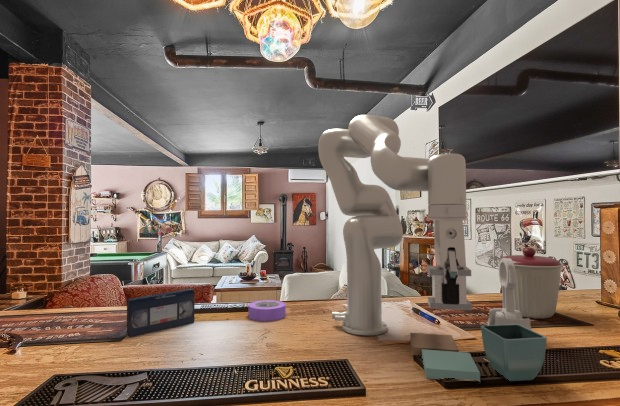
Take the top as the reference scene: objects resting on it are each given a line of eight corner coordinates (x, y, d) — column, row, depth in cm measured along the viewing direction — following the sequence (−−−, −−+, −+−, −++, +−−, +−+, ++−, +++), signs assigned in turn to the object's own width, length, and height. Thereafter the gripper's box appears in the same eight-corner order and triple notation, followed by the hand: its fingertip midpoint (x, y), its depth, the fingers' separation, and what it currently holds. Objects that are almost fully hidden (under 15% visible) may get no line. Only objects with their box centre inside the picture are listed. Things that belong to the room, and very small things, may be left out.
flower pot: (479, 367, 79) (479, 324, 79) (519, 365, 79) (518, 323, 79) (504, 387, 70) (504, 339, 70) (549, 385, 71) (548, 337, 71)
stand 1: (412, 355, 85) (412, 347, 85) (410, 340, 95) (410, 332, 95) (458, 359, 83) (458, 350, 83) (451, 343, 92) (451, 335, 93)
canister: (489, 305, 127) (488, 244, 127) (546, 307, 125) (545, 244, 125) (510, 322, 109) (509, 250, 109) (577, 324, 107) (576, 251, 107)
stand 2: (426, 378, 74) (425, 368, 74) (421, 358, 83) (421, 349, 83) (480, 382, 72) (480, 372, 72) (469, 361, 81) (469, 352, 81)
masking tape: (266, 309, 126) (265, 297, 126) (293, 314, 119) (293, 302, 119) (240, 317, 116) (240, 305, 116) (268, 324, 109) (268, 311, 109)
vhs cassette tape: (129, 338, 98) (129, 300, 98) (125, 335, 100) (125, 298, 100) (195, 323, 110) (195, 289, 110) (191, 321, 112) (191, 288, 112)
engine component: (493, 344, 92) (538, 346, 90) (492, 261, 92) (537, 262, 90) (482, 329, 102) (522, 332, 100) (481, 255, 103) (521, 256, 101)
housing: (466, 304, 79) (466, 266, 79) (471, 310, 74) (471, 270, 74) (427, 302, 81) (427, 265, 81) (430, 308, 76) (429, 269, 76)
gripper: (475, 213, 69) (477, 312, 68) (458, 212, 85) (460, 292, 85) (432, 214, 70) (434, 310, 70) (424, 213, 87) (426, 291, 87)
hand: (448, 299), depth 78 cm, fingers closed on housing, 5 cm apart
